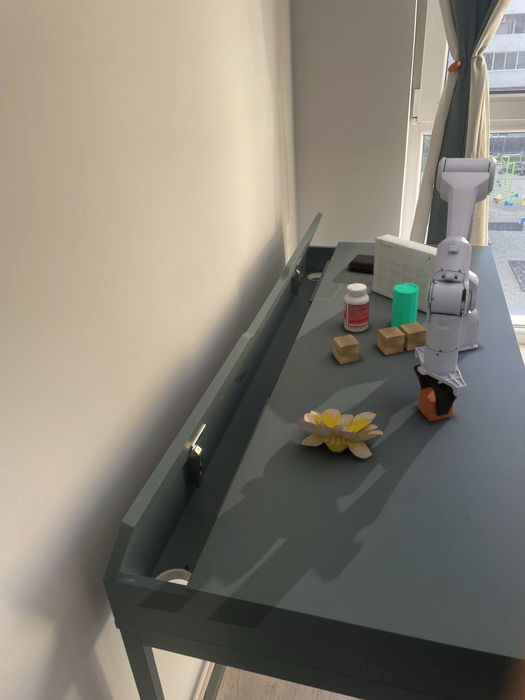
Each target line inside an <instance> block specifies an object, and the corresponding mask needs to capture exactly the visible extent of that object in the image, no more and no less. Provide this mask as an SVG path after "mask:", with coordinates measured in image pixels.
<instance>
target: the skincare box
mask: <svg viewBox="0 0 525 700" xmlns="http://www.w3.org/2000/svg"><path fill="white" fill-rule="evenodd" d="M374 241H375V242H374V256H375V258H374V273H373V276H372V277H373V279H372V292H374V293H376V294H379V295H381V296H384V297H386V298H388V299H391V300H393V288H394V286H395V285H401V284H405V283H406V282H407V283H411V284H415V285H417V286H418V287H419V294H418V306H417V310H419V311H421V312H424V313H426V314H427V311H426V297H427V290H428V286H429V283H430V282H432V278H433V272H434V266H435V260H436V253H437V247H435V246H431V245H427V244H424V243H420V242H416V241H413V240H410V239H406V238H402V237H399V236H395V235H391V234H389V233H388V234H383V235H379V236H377V237H375V239H374Z"/></svg>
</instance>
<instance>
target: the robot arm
mask: <svg viewBox="0 0 525 700" xmlns="http://www.w3.org/2000/svg"><path fill="white" fill-rule="evenodd" d="M497 163H498V162H497V159H496V158H495V157H494V156H491V157H445V156H444V157H442V158H441V159H440V160H439V162H438V168H437V174H436V186H435V187H436V190H437V192H438V193H439V198H440V199H442V200H443V201H445V202H446V203H447V216H446V217H447V219H446V235H445V238H444V239H443V240H442V241H440V243H438V244H437V247H436V248H437V253H436V260H435V266H434V272H433V278H432V282H430V283H429V286H428V290H427V297H426V311H427V313H426V319H425V322H426V330H427V332H426V342H425V346H423V347H418V348H415V349H414V358H415V359H418V360H419V364H416V365H415V366H414V367H413V371H414V372H415V375H416V378H417V379H418V382H419V386H420V389H424V388H428V387H432V389H433V391H434V394H435V399H436V414H437V415H438V416H442V415H446V414H448V413H449V410H450V408H451V406H452V404H453V405H454V403H455V400H457V398H458V397H461V396H464V395H465V396H466V395H467V391H468V385H467V383H466V382H465V381H464V379H463V376H462V374H461V372H460V369H459V367H458V357H459V352H463V351H468V350H469V351H470V350H475V349H478V348H479V345H478V344H477V341H478V336H479V335H478V334H479V328H480V314H479V312H478V310H477V309H476V308H477V307H476V305H477V299H478V292H479V280H480V279H479V278H478V275H477V274H476V273H474V272H473V271H471V270H470V268H471V261H472V253H473V246H472V244H471V238H472V232H473V230H472V229H473V222H474V215H475V214H474V213H475V206H476V204H478V203H479V202H482V201H484V200H486V199H487V197H488V196H489V195H490V194H491V193H492V192H493V189H494V184H495V177H496V170H497Z"/></svg>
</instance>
